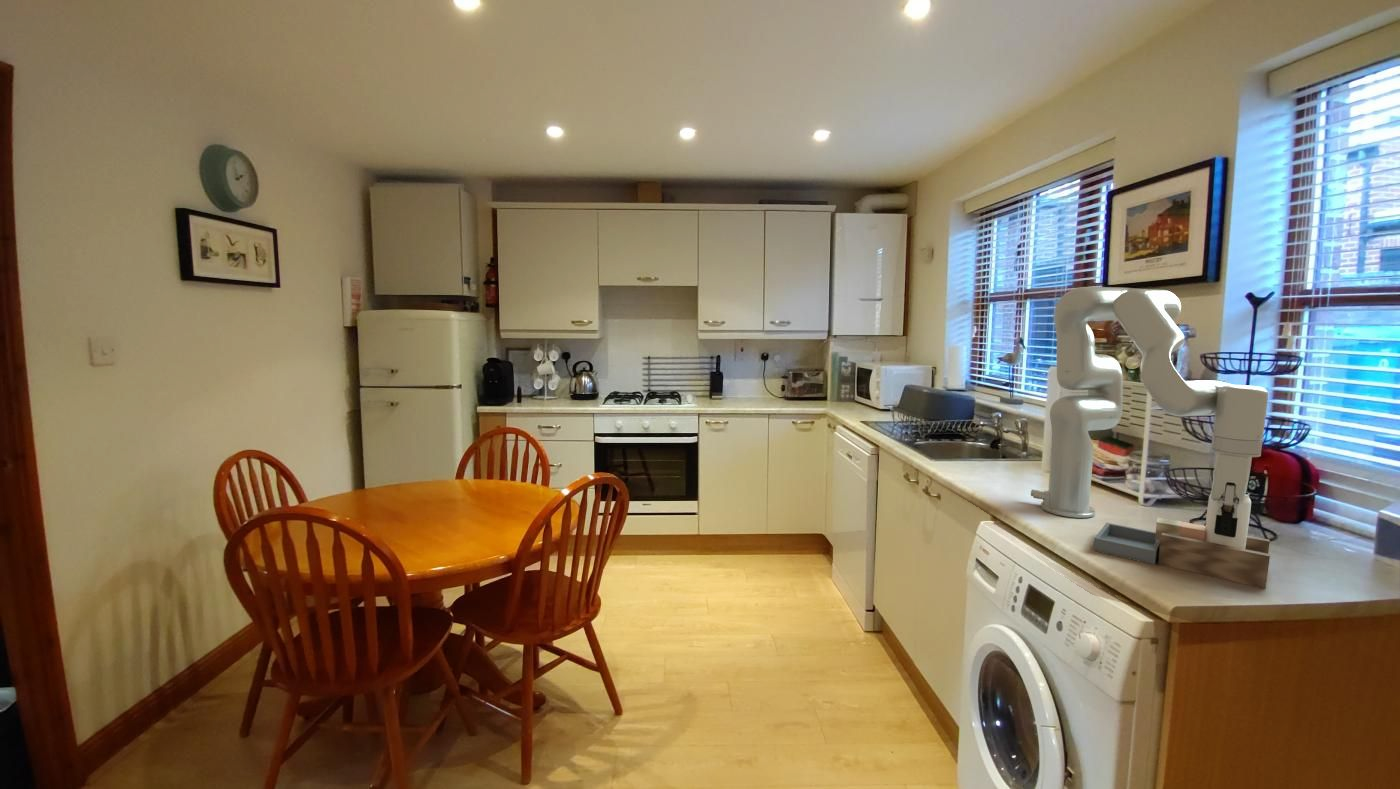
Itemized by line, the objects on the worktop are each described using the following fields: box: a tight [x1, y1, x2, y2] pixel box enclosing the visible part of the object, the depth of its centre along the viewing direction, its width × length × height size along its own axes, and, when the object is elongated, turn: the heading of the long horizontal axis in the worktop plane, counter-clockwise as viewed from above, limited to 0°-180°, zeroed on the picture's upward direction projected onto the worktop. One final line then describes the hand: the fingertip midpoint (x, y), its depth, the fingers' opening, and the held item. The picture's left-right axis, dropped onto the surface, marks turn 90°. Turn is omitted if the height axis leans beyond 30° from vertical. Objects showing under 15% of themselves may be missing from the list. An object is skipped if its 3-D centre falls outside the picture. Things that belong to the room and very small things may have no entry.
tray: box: [1093, 522, 1161, 565], centre depth 132 cm, size 11×14×3 cm
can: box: [1204, 489, 1252, 549], centre depth 121 cm, size 6×6×12 cm
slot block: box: [1157, 526, 1271, 589], centre depth 122 cm, size 16×12×6 cm
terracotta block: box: [1180, 521, 1206, 541], centre depth 125 cm, size 4×4×4 cm
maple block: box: [1155, 517, 1182, 541], centre depth 127 cm, size 4×4×4 cm
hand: (1225, 530), depth 121 cm, fingers closed on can, 6 cm apart
